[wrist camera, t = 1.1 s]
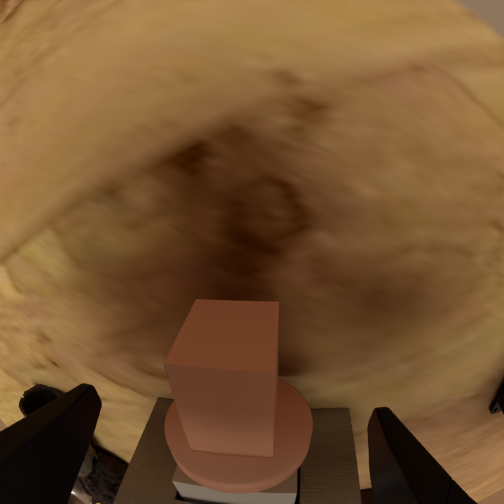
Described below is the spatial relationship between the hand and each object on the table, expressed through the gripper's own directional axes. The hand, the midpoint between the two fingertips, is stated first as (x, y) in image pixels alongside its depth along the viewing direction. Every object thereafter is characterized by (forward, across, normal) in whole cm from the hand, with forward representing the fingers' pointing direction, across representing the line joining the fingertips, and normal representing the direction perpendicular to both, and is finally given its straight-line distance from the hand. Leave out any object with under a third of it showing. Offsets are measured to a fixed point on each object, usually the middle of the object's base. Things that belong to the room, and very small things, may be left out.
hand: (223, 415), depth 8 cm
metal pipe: (+7, +16, +18) cm, 25 cm away
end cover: (+6, 0, +6) cm, 8 cm away
